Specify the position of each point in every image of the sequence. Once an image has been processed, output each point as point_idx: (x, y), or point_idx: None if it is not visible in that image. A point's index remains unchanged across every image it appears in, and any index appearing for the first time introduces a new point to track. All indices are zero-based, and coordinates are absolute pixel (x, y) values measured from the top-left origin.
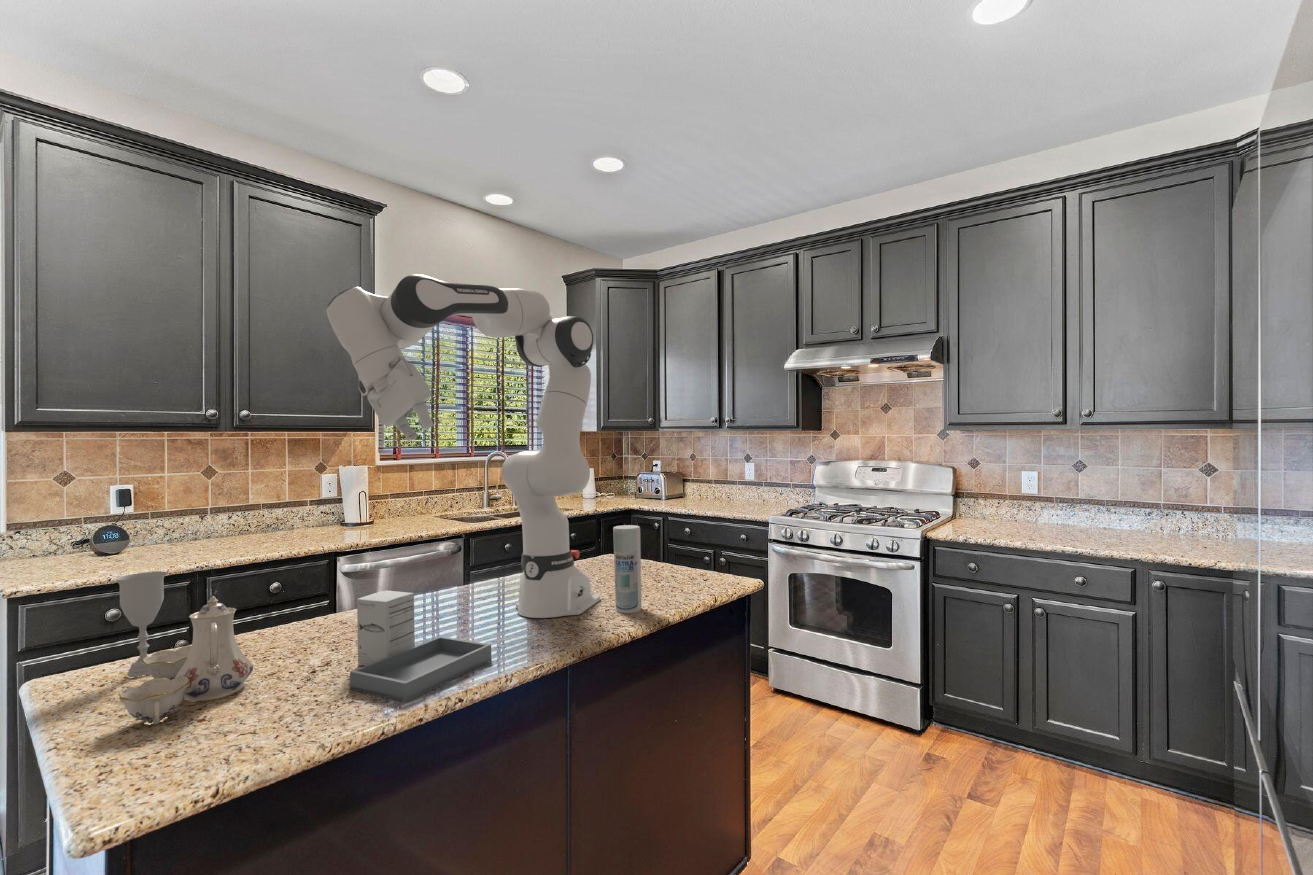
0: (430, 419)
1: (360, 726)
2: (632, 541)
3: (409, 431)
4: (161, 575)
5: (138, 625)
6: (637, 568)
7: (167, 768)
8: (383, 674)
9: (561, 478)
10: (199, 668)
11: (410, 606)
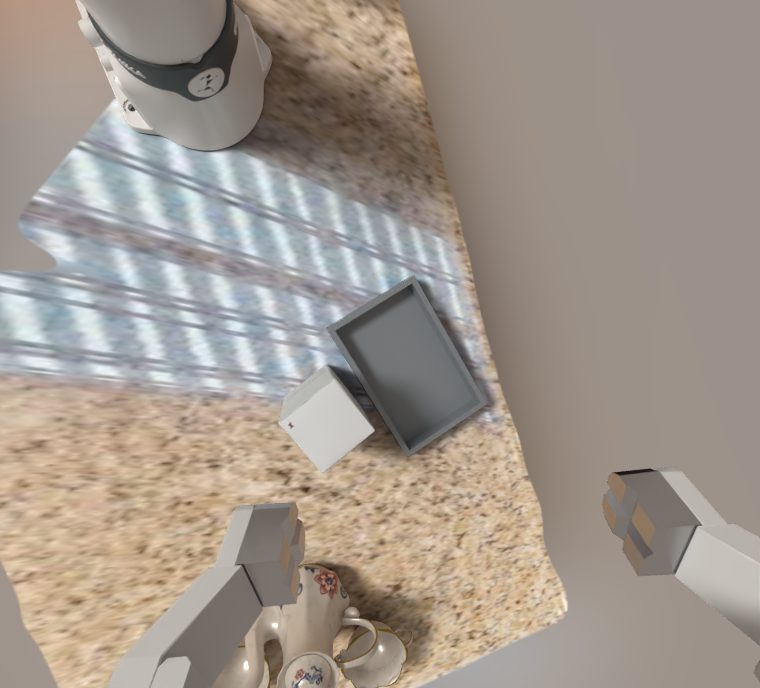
0: (705, 503)
1: (508, 445)
2: None
3: (288, 583)
4: None
5: None
6: None
7: (493, 590)
8: (387, 413)
9: None
10: (336, 631)
11: (339, 382)
